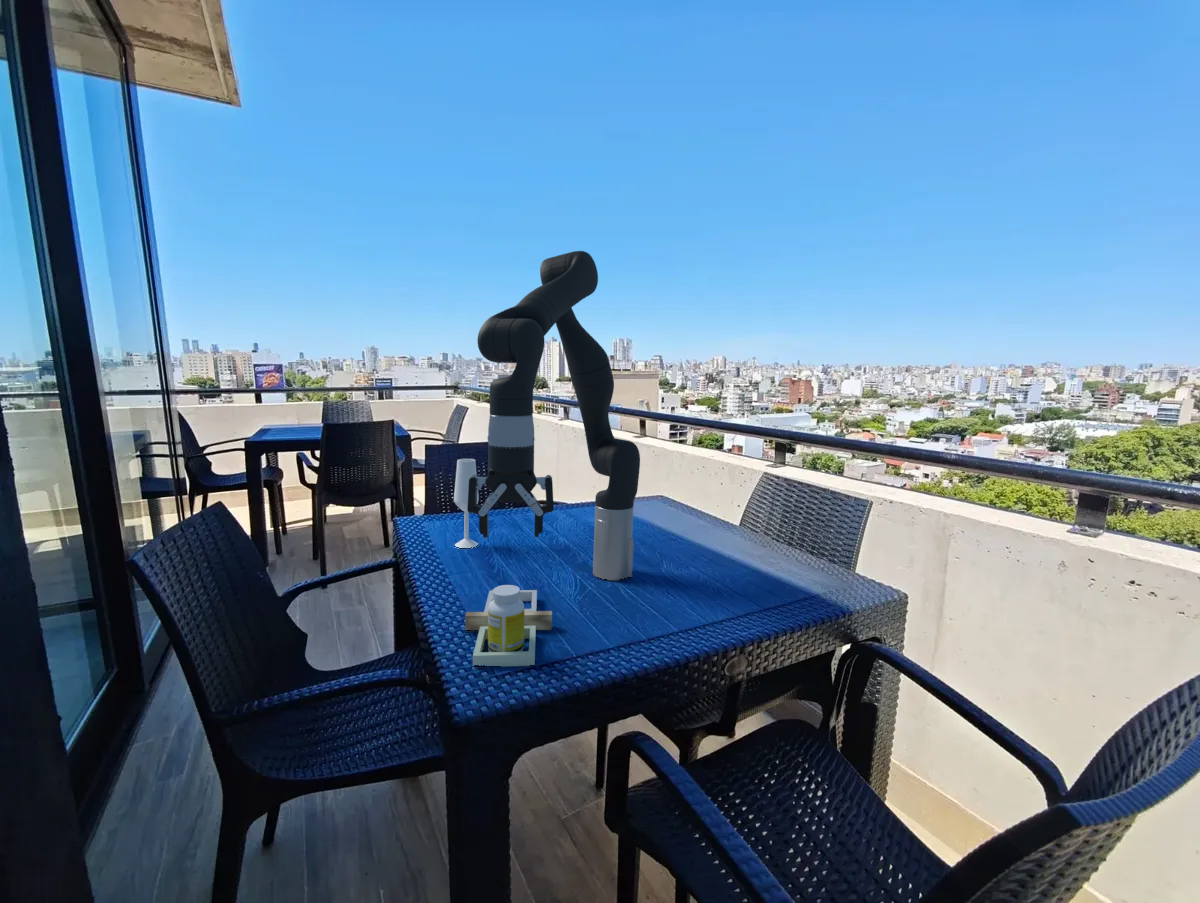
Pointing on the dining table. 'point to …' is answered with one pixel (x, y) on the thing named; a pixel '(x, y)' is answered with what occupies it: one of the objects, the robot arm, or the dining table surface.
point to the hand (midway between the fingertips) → (511, 536)
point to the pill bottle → (506, 620)
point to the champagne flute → (464, 496)
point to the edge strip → (530, 619)
